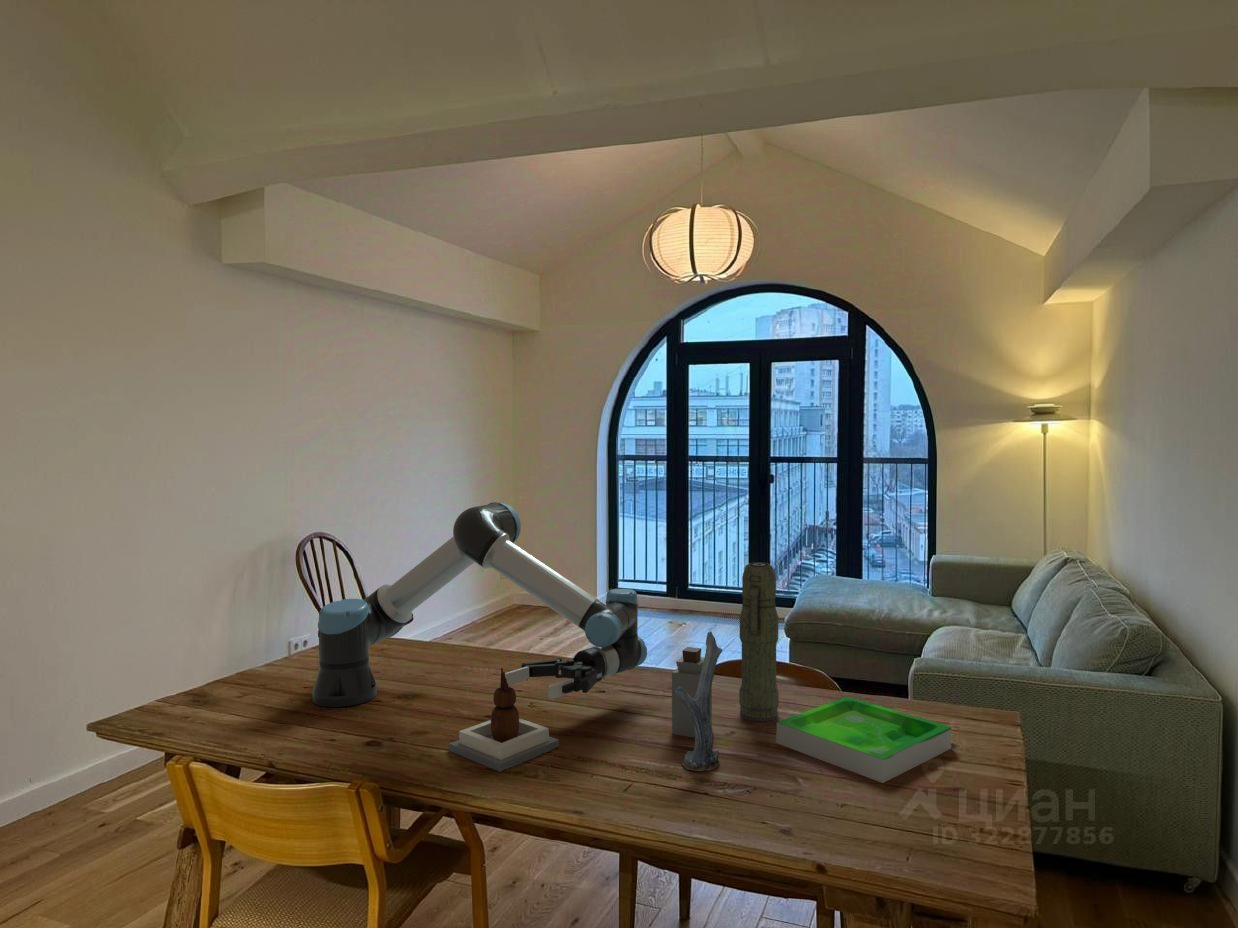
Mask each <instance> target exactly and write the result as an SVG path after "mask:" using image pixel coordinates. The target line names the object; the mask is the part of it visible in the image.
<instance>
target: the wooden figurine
mask: <svg viewBox="0 0 1238 928" xmlns="http://www.w3.org/2000/svg"><path fill="white" fill-rule="evenodd" d="M505 673H506V672H505V671H504V670H503V667H501V668H500V686H499V687H498V688H496V689H495V691H494V693H493V704H494V708H493V709H492V711H491V715H490V720H491V732H492V736H493V739H494V740H495V741H498V742H500V743H503V742H506V741H508V740H511V739H513V738H516V737H517V735H518V731H519V718H520V712H519V710H518V708H517V707H516V706H515V704H516V702H517V693H516V691H515V689H514V688H513V687H510V686H508V683H507V679H506V678H505Z"/></svg>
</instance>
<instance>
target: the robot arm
mask: <svg viewBox="0 0 1238 928" xmlns="http://www.w3.org/2000/svg"><path fill="white" fill-rule="evenodd" d="M521 523H522V522H521V519H520V517H519V514H518V513H517V511H516V510H515V509H514V508H513V507H512V506H511V505H510V504H507V503H504V502H496V501H495V502H494V501H493V502H490V503H487V504H484V505H478V506H472V507H469V508H467V509H465V510H463V512H461V513H460V514H459V515H458V517H456V519H455V521H454V524H453V532H452V533H453V534H452V537H451V538H450V539H448V540H447V541H445V542H444V543H443V544H442V545H441V546H439V547H437V548H436V550H434V551H433V552H432V553H430V554H429V555H428V556H427V557H425V558H424V559H423V560H421V561H420V562H419V563H418V564H416V565H415V566H414V567H412V569H410V570H409V571H408V572H407V573H405V574H404V575H403V576H401V578H399V579H398V580H396V582H394V583H392V585H390V584H383V585H381V586H379V587H378V588H377V589H375V591H373V592H372V593H371V594H370V595H368V596H367V597H365V598H364V599H361V598H344V599H341V600H334V601H332V602H330V603H327V604H325V605H324V606H322V607H321V608H320V610H319V613H318V622H317V628H318V655H319V656H318V658H319V659H318V660H319V661H318V662H319V667H318V668H319V669H318V673H317V676H316V678H315V679H316V680H315V682H314V683H315V684H314V685H313V689H312V703H314V704H315V705H316V706H319V707H324V708H325V707H326V708H344V707H350V706H351V707H352V706H357V705H361V704H363V703H366V702H369V701H371V700H373V699H375V697H377V695H378V686H377V682H376V679H375V676H374V674H373V670H372V668H371V666H370V647H371V646H372V645H375V644H377V643H379V642H381V641H384V640H386V639H390V638H391V637H394V636H395V635H397V634H398V633H399V632H400V631H401V630H402V629H403V628H404V626H405V624H406V623H408V622H409V621H410V620H411V619H412V615H413V611H414V610H415V609H417V608H418V607H419V606H420V605H422V604H423V603H424V602H425V601H427V600H428V599H430V598H431V597H432V596H434V595H435V594H436V593H437V592H439V591H440V590H441V589H442V588H443V587H445V586H446V585H448V583H450V582H451V581H454V579H455V578H456V577H458V576H459V575H460V574H462V573H463V572H464V571H466V570H467V569H468V568H469V567H471V566H472V565H473V564H474V563H476V564H477V565H479V566H480V567H482V568H483V569H485V570H486V569H493V570H494V571H495V572H497V573H499V574H500V575H502V576H503V577H504V578H506V579H507V580H508V581H510V582H511V583H513V584H514V585H516V586H517V587H519V588H520V589H521V590H523V591H525V592H526V593H528V594H529V595H531V596H532V597H534V598H535V599H536V600H538V601H539V602H541V603H543V604H544V605H546V606H547V607H548V608H550V609H552V610H553V611H554V612H556V613H557V614H559V615H561V616H562V617H563V618H565V619H566V620H568V621H569V622H570V623H572V624H573V625H575V626H577V627H578V628H579V629H581V630H583V632H584V633H585V634H584V635H585V637H586V638H587V639H586V640H588V642H589V643H590V644H591V645H593V646H592V647H589V648H585V649H582V650H580V651H577V653H575V654H574V656H573V658H572V659H566V660H563V658H562V657H558V658H554V659H546V660H538V661H530V662H522V663H521V664H520V665H521V668H518V669H514V670H511V671H508V672H505V678H506V679H507V683H508V687H510V686H511V685H515V684H518V683H521V682H525V681H526V682H527V681H529V680H530V678H537V677H538V678H541V677H555V678H557V679H560V678H561V679H563V678H567V679H564V680H561V681H558V682H556V683H552V684H550V685H547V699H548V700H553V699H556V698H559V697H562V696H565V695H568V694H571V693H572V692H576V693H577V692H580V691H581V692H582V693H584V694H586V693H588V692H589V691H591V689H592V688H593V687H594V686H595V685H596V684H597V683H598V682H600V681H602V680H606V678H608V677H610V676H614V675H616V674H619V673H622V672H625V671H629V670H630V671H631V670H632V669H634V668H637V667H639V666H640V665H642V664H643V663H644V662H645V661H646V659H647V655H648V647H647V646H646V642H645V640H643V638H642V637H641V636H639V635H638V631H639V629H638V625H639V624H638V621H639V619H638V615H639V614H638V613H639V612H638V611H639V609H638V608H639V607H638V606H639V603H638V594H637V591H635V589H630V588H613V589H609V590H608V591H607V593H606V600H605V603H603V602H602V601H600V600H599V599H597V598H596V597H595V596H593V595H592V594H591V593H589V592H587V591H586V590H584V589H583V588H581V587H579V586H578V585H577V584H575V583H574V582H572V581H571V580H570V579H568V578H566V577H565V576H563V575H562V574H560V573H559V572H558V571H556V570H555V569H553V568H552V567H550V566H548V565H547V564H545V563H544V562H542V561H541V560H539V559H538V558H536V557H535V556H534V555H532V554H530V553H529V552H528V551H526V550H525V549H523V548H521V547H520V546H519V545H517V544H516V541H517V540H518V539H519V537H520V534H521V528H522V524H521Z"/></svg>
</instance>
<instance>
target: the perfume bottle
mask: <svg viewBox="0 0 1238 928" xmlns="http://www.w3.org/2000/svg"><path fill="white" fill-rule="evenodd" d="M681 652H682V656H681V657H680V658H678V659H677V660H676V661H675V663H676V667H677V668H676V669H675V670H673V671H671V734H672V735H675V736H676V735H677V736H681V737H689V738H694V739H695V731H694V724H693V722H692V719H691V716H690V715H689V712H688V710H687V707H686V705H685V703H683V701H682V700H680V699H679V698H678V696H677V695H676V693H675V689H676V688H677V687H679V686H681V687H683V688H684V690H685V691H686V692H687V693H688V695H690V696H691V697H692V698H693V699H694V697H695V695H696V692H697V688H698V684H699V679H700V675H701V670H702V667H703V662H704V659H705V656H704V657H703V656H702V647H701V648H700V647H691V646H687V647H685V648H683V649H682V651H681ZM712 688H713V686H711V691H710V714H711V716H710V722H711V728H712V727H713V726H712V725H713V724H712V723H713V722H712V721H713V718H712V714H713V713H712V711H713V709H712V707H713V706H712V705H713V698H712V696H713V695H712V693H713V691H712V690H713V689H712ZM712 729H713V728H712Z"/></svg>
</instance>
